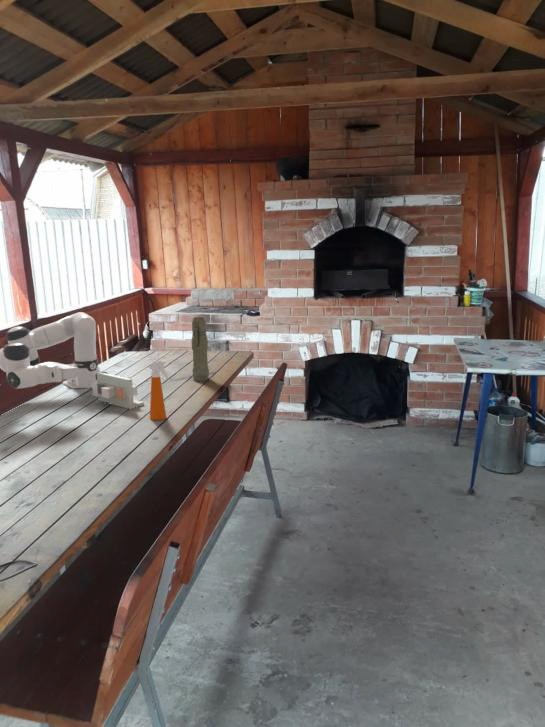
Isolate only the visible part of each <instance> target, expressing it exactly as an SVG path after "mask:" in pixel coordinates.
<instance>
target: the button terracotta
mask: <svg viewBox="0 0 545 727" xmlns="http://www.w3.org/2000/svg"><path fill="white" fill-rule="evenodd" d="M134 396H138V386H136V385H133V397H134ZM116 398H118V399H122V400H123V399H125V398H126V389H125V388H116Z"/></svg>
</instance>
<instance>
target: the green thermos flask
mask: <svg viewBox="0 0 545 727" xmlns="http://www.w3.org/2000/svg"><path fill="white" fill-rule="evenodd" d="M191 331H192V337H191V350H192V360H193V361H192V362H193V364H192V366H193V367H192V378H193V381H194V380H196V381H195V382H206V381H205V380H207V381H209V380H210V377H209V376H210V370H209V366H208V363H209V362H208V348H209V345H208V344H209V343H208V342H209V341H208V337H207V322H206V319H205V317H203V316H195V317H193V318H192V322H191ZM208 379H209V380H208Z"/></svg>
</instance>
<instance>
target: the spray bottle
mask: <svg viewBox="0 0 545 727" xmlns="http://www.w3.org/2000/svg"><path fill="white" fill-rule="evenodd" d="M165 364H166V361H165V360H159V361H158V360H157V361H156V362H153V363H151V364H150V365H149V366H148V368H149V369H151V379H150V381H151V382H150V405H149V406H150V407H149V418H150V419H149V420H151V421H162V420H165V419H166V418H167V413H166V408H165V406H166V405H165V401H164V400H165V399H164V393H163V386H162V381H161V380H162V379H161V373H162V375H163V376H164V377H165V378H166V379H167V380H169V379H170V378H169V376H168V375H167V372H166V370H165Z"/></svg>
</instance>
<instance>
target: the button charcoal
mask: <svg viewBox="0 0 545 727" xmlns="http://www.w3.org/2000/svg"><path fill="white" fill-rule="evenodd" d="M101 387H107V384H104V383H101V384H97V390H98V393H99V394H102V390H101Z"/></svg>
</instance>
